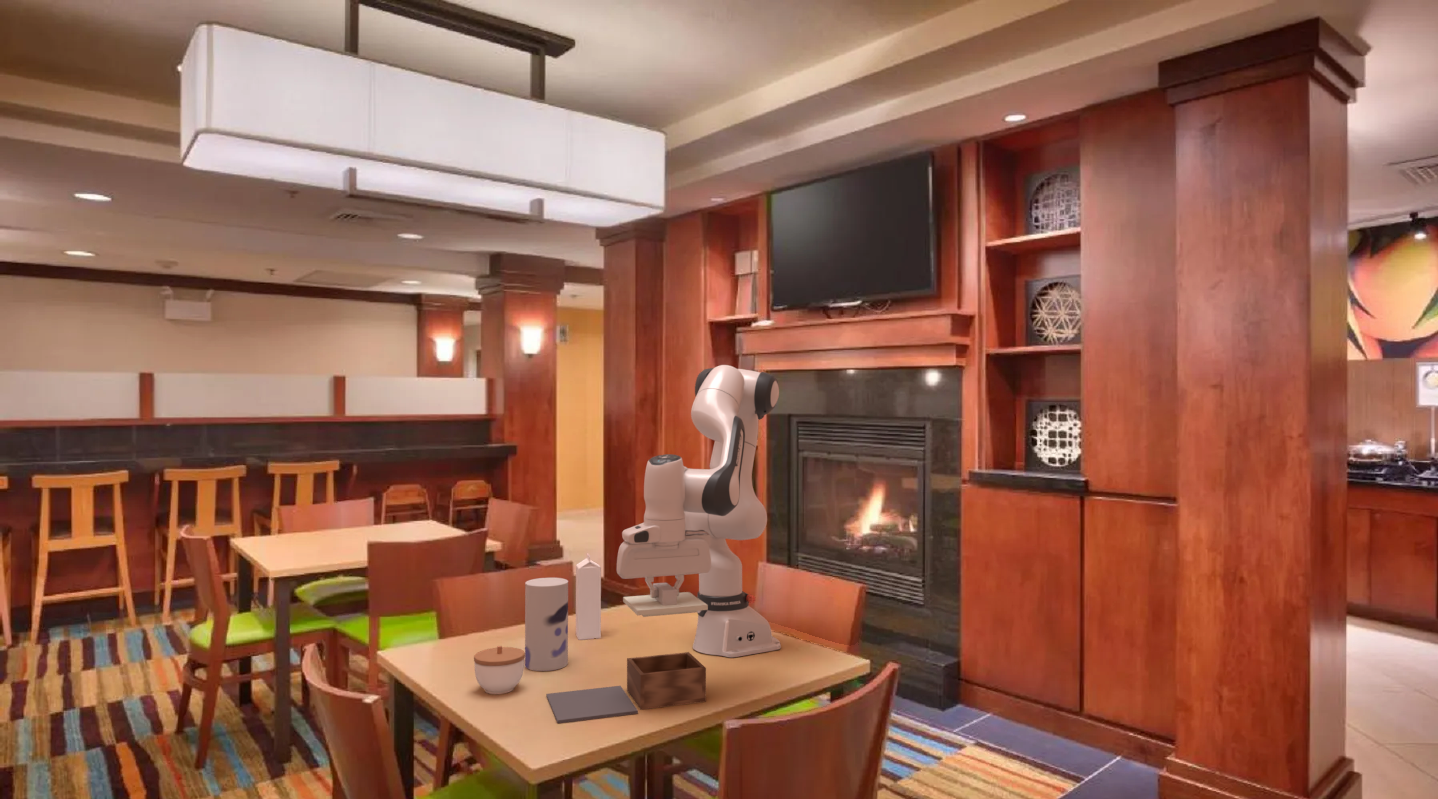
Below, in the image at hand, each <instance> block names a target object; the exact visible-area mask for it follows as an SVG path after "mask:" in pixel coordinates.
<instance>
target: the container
mask: <svg viewBox="0 0 1438 799" xmlns="http://www.w3.org/2000/svg"><path fill="white" fill-rule="evenodd" d="M524 583H525V584H524V586H525V587H524V588H525V592H524V593H525V594H524V598H525V599H524V600H525V602H524V603H525V604H524V605H525V607H524V609H525V610H524V611H525V612H524V613H525V614H524V628H525V629H524V635H525V636H524V652H525V658H524V668H525V669H527V670H529V671H530V670H531V671H534V672H535V671H537V672H548V671H556V670H561V669H563V668H564V667H567V666H568V664H569V580H568V579H566V578H562V577H539V578H533V579H529V580H526V581H525V582H524Z"/></svg>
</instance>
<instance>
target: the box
mask: <svg viewBox="0 0 1438 799" xmlns="http://www.w3.org/2000/svg"><path fill="white" fill-rule="evenodd" d="M626 691H627V693H628V694H629V696H630V697H631V699H632V700H633V701H634V703H635V704H636V705H637V707H638V708H639V710H649V709H656V708H664V707H665V708H666V707H674V706H680V705H690V704H698V703H705V702H706V701H707V667H706V666H704V665H703V664H702V663H701V662H700V661H699V660H698V659H697V658H696V657H695V656H693V655H692V653H690V652H689V651H688V652H687V651H686V652H677V653H676V652H675V653H666V654H658V655H647V656H645V655H644V656H638V657H637V656H636V657H627V658H626Z"/></svg>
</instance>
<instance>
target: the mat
mask: <svg viewBox="0 0 1438 799" xmlns="http://www.w3.org/2000/svg"><path fill="white" fill-rule="evenodd" d="M623 688H624V687H622V686H621V685H614V686H604V687H603V686H602V687H597V688H595V687H594V688H587V689H579V690H578V689H576V690H569V691H561V692H552V693H546V699H547V702H548V704H549V707H550V709H551V711H552V714H553V717H554V719H555V721H556V723H558V724H563V723H565V724H566V723H573V722H580V721H588V720H589V721H590V720H598V719H605V718H614V716H615V717H620V716H628V715H629V716H630V715H638V714H639V710H638V708H637V707H636V706H635V704H634V703H633V701H632V700H631V698H630V697H629V696H628V694H627V693H626V691H625V690H624V689H623Z"/></svg>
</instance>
